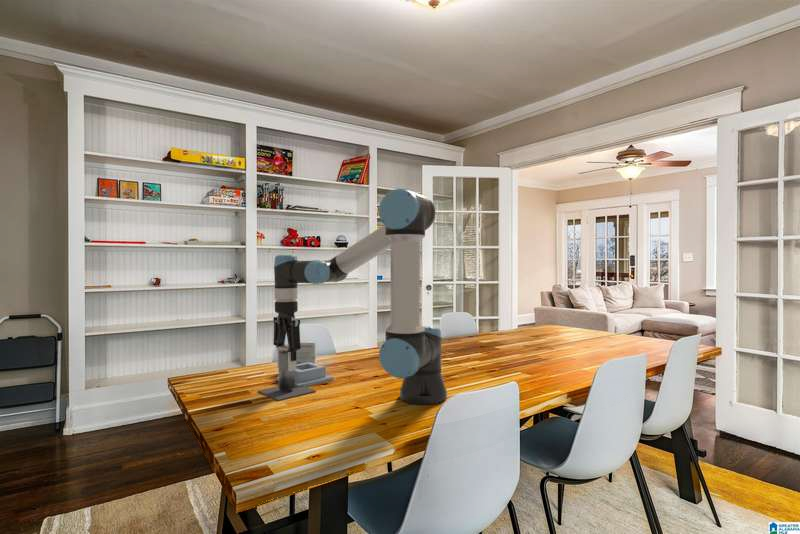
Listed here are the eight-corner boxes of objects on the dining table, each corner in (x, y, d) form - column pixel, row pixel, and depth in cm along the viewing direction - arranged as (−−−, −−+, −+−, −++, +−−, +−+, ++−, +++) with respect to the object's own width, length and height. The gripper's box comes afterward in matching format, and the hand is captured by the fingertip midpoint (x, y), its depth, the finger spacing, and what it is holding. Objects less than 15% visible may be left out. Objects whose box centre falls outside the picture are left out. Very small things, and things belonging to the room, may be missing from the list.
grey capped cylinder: (300, 387, 147) (299, 346, 147) (283, 391, 142) (282, 349, 142) (290, 383, 151) (290, 343, 151) (273, 387, 147) (273, 346, 147)
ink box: (317, 369, 178) (316, 340, 178) (315, 372, 173) (314, 342, 173) (295, 369, 177) (295, 340, 177) (293, 372, 172) (293, 343, 172)
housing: (333, 380, 161) (333, 366, 161) (297, 388, 150) (297, 374, 150) (311, 372, 172) (311, 360, 172) (276, 380, 161) (276, 366, 161)
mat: (316, 391, 147) (316, 390, 147) (278, 401, 137) (278, 399, 137) (294, 383, 157) (294, 382, 157) (257, 391, 147) (257, 390, 147)
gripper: (311, 301, 142) (312, 371, 143) (281, 298, 156) (282, 362, 156) (291, 303, 137) (291, 376, 137) (262, 299, 151) (263, 365, 151)
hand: (286, 368), depth 147 cm, fingers closed on grey capped cylinder, 6 cm apart
